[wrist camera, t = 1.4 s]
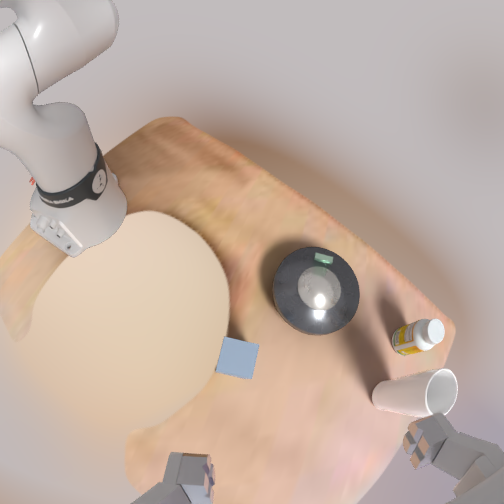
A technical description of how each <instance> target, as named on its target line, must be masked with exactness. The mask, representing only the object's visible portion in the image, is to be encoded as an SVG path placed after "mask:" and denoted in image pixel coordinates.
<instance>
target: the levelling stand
mask: <svg viewBox="0 0 504 504" xmlns="http://www.w3.org/2000/svg"><path fill="white" fill-rule="evenodd" d="M272 293H273V299H274V303H275V308H276V310H277V311H278V312H279V314H280V315H281V316H282V318H283V319H284V320H285V321H286V322H287V323H288V324H289V325H290V326H291V327H293V328H294V329H296V330H298V331H300V332H302V333H305V334H309V335H326V334H330V333H333V332H335V331H337V330H339V329H341V328H342V327H344V326H345V325H346V324H347V323H349V322H350V320H351V319H352V318H353V316H354V314H355V313H356V310H357V308H358V304H359V298H360V292H359V285H358V281H357V278H356V276H355V274H354V272H353V270H352V269H351V267H350V266H349V265H348V263H347V262H346V261H345V260H344V259H343V258H341V257H340V256H339V255H337V254H336V253H334V252H332V251H330V250H327V249H324V248H319V247H307V248H302V249H299V250H297V251H294V252H293V253H291V254H290V255H288V256H287V257H286V258H285V259H284V260H283V262H282V263H281V264H280V266H279V268H278V270H277V271H276V274H275V276H274V280H273V286H272Z"/></svg>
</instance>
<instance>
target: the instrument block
mask: <svg viewBox="0 0 504 504" xmlns="http://www.w3.org/2000/svg"><path fill="white" fill-rule="evenodd" d="M258 348H259V344H254V343H250V342H245V341H241V340H237V339H233V338H228V337H224V340H223V344H222V348H221V352H220V356H219V360H218V364H217V368H216V372H217V373H222V374H226V375H230V376H235V377H239V378H244V379H252V376H253V371H254V367H255V362H256V358H257V353H258Z"/></svg>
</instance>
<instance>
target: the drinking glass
mask: <svg viewBox="0 0 504 504" xmlns="http://www.w3.org/2000/svg"><path fill="white" fill-rule="evenodd" d="M457 392H458V384H457V380H456V377H455V375H454V374H453V372H452V371H451V370H449V369H446V368H441V369H433V370H427V371H422V372H418V373H415V374H411V375H408V376H404V377H400V378H396V379H392V380H385V381H382V382H380V383H379V384H377V385H376V387H375V388H374V390H373V393H372V402H373V404H374V406H375V407H376V408H377V409H379V410H385V411H391V412H395V413H400V414H405V415H409V416H415V417H427V416H430V415H432V414H435V413H437V412H441V413H443V415H445V414H447V413H448V412H449V411H450V409H451V408H452V407H453V405H454V403H455V400H456V397H457Z"/></svg>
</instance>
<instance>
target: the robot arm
mask: <svg viewBox="0 0 504 504" xmlns="http://www.w3.org/2000/svg"><path fill="white" fill-rule="evenodd" d="M4 7H7V8H11V9H12V10H14V11H15V13H16V15H17V18H18V19H17V21H16V22H14V23H13V24H12V25H11V26H9V27H8V28H6V29H4V30H3V31H1V32H0V147H1V148H3V149H5V150H7V151H9V152H11V153H13V154H14V155H15V156H16V157H17V158H18V159H19V160H20V161H21V162H22V164H23V165H24V166H25V167H26V169H27V170H28V171H29V173H30V174H31V175H32V178H31V180H30V182H31V181H32V179H33V178H34V179H33V181H32V185H33V184H34V182H35V181H36V186H37V187H36V189H35V191H34V193H33V195H32V198H31V201H30V209H31V211H32V212H33V213H32V217H31V222H30V227H31V228H32V230H33V231H35V232H36V233H37V234H39V235H40V236H41V237H43V238H44V239H46V240H47V241H49V242H50V243H51V244H53V245H54V246H56V247H57V248H59V249H60V250H61V251H63V252H64V253H66V254H67V255H69V256H70V257H76V256H78V255H79V254H81V253H82V252H83V251H84V250H86V249H87V248H90V247H92V246H95V245H98V244H100V243H102V242H104V241H105V240H107V239H108V238H110V237H111V236H112V235H113V234H114V233H115V232H116V231H117V230H118V229H119V227H120V226H121V224H122V222H123V220H124V218H125V215H126V211H127V200H126V197H125V195H124V193H123V192H122V190H121V189H120V188H119V186H118V179H117V177H116V175H115V174H114V173H111V171H110V169H109V167H108V166H107V164H106V162H105V160H104V158H103V156H102V152H101V150H100V149H99V146H98V145H97V144H96V143H95V142H94V140H93V137H92V134H91V131H90V128H89V125H88V122H87V120H86V117H85V114H84V113H83V111H82V110H81V109H80V108H79V107H78V106H76V105H74V104H71V103H65V102H58V103H51V104H46V105H33V100H34V98H35V97H36V96H38V94H39V93H41V92H42V91H44V90H45V89H47V88H48V87H50V86H52V85H53V84H55V83H56V82H58V81H59V80H61V79H63V78H64V77H66V76H68V75H70V74H71V73H73V72H75V71H76V70H79V69H80V68H82V67H83V66H84V65H86V64H87V63H89V62H90V61H91V60H93V59H94V58H96V57H97V56H98V55H100V54H101V53H103V52H104V51H105V50H107V49H108V48H109V47H110V46H111V45H112V44H113V42H114V39H115V37H116V35H117V31H118V26H119V16H118V11H117V9H116V6H115V4H114V3H113V1H112V0H0V8H4ZM70 246H71V248H70V249H69V247H70ZM408 430H409V431H408V432H407V433H406V434H405V436H404V439H403V446H404V449H405V451H406V453H407V454H410V455H411V458H410V461H411V462H412V464H413V466H414V468H415V470H417V469H419V468H422V467H424V466H427V465H429V464H432V465H433V466H435V467H437V468H439V469H440V470H442V471H444V472H446V473H447V474H449V475H451V476H453V477H455V478H456V479H458V480H460V481H459V482H458V484H456V486H455V487H454V489H453V491H454V493H455V495H456V498H454V499H453V500H451V501H449V502H447V503H446V504H504V452H503V451H502V450H501V448H500V447H499V446H498V445H496V444H493V443H490V442H487V441H484V440H481V439H478V438H475V437H472V436H470V435H467V434H464V433H461V432H460V433H457V432H456V430H455V429H454V427H453V426H452V425H451V424H450V422H449V421H448V420H447V418H446V417H445V416H444V415H443V413H441V412H437V413H435V414H432V415H430V416H427V417H424V418H422V419H419V420H416V421H414V422H411V423H410V424H409V426H408ZM214 484H215V469H214V465H213V464H211V457H210V454H191V453H179V452H171V453H170V455H169V458H168V462H167V466H166V470H165V474H164V478H163V482H159V483H157V484H156V485H155V486H154V487H152V488H151V489H150V490H148V491H147V492H146V493H144V494H143V495H142V496H141V497H139V498H138V499H136V500H135V501H134V502H132V503H131V504H213V499H214V491H213V489H212V486H213V485H214Z"/></svg>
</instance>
